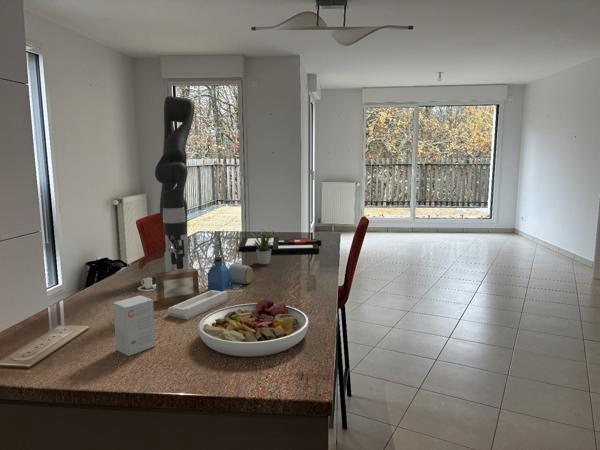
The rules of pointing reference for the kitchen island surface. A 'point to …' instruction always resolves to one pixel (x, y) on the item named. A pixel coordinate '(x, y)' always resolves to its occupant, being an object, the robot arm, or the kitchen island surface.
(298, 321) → the bowl
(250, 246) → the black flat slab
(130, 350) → the small box
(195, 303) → the frame
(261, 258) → the house plant
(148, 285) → the teacup and saucer
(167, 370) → the kitchen island surface
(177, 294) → the oak frame
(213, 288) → the perfume bottle
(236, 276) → the ceramic mug
